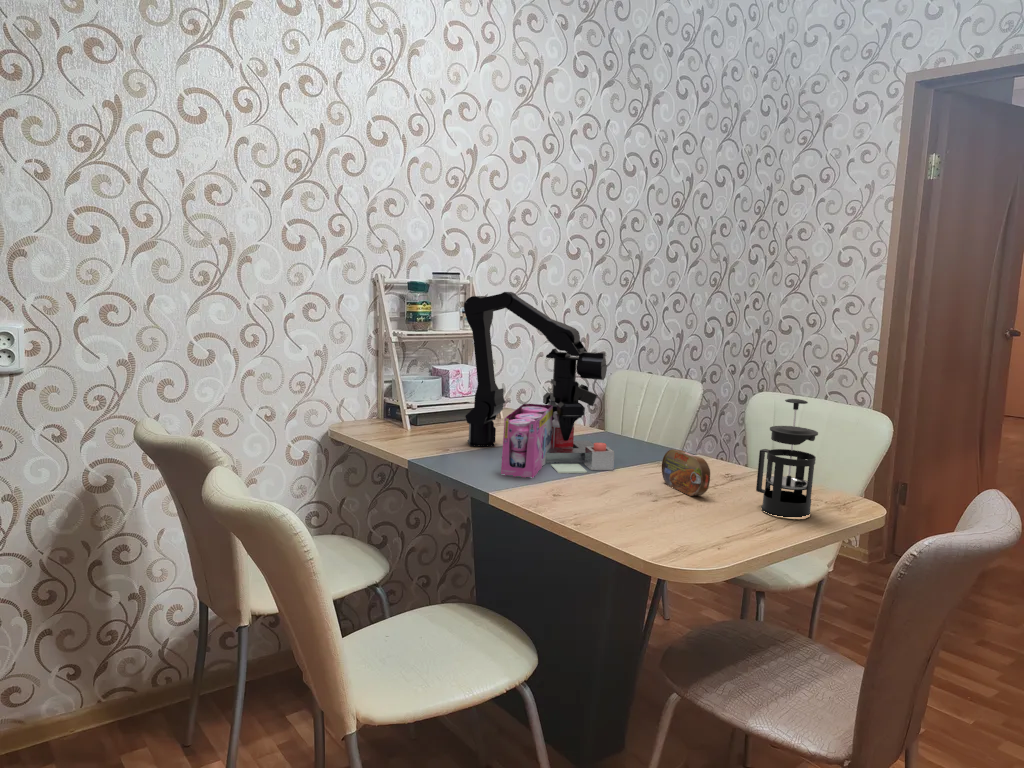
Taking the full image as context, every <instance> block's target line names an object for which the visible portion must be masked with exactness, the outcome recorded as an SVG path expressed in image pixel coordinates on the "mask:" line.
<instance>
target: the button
mask: <svg viewBox="0 0 1024 768" xmlns="http://www.w3.org/2000/svg"><path fill="white" fill-rule="evenodd" d="M593 444H594V451H606V446H607V443H604V442H594V443H593Z"/></svg>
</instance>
